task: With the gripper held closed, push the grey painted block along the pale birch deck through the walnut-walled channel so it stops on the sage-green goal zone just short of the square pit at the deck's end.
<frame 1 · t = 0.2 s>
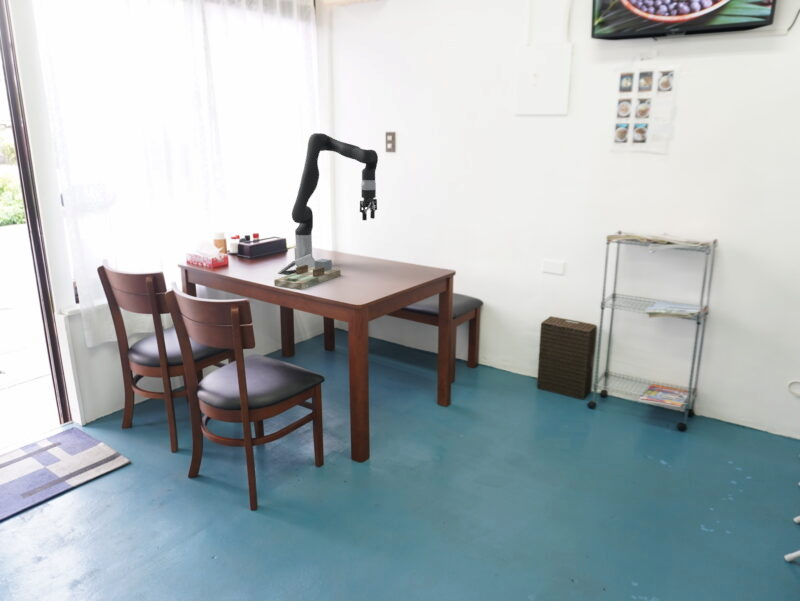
hand: (368, 219, 305), 29 cm above the table, fingers open, 8 cm apart
grey block: (323, 269, 303), point 3 cm above the table, touching tunnel deck
tunnel deck: (308, 280, 292), on the table
bracket: (299, 272, 313), on the table
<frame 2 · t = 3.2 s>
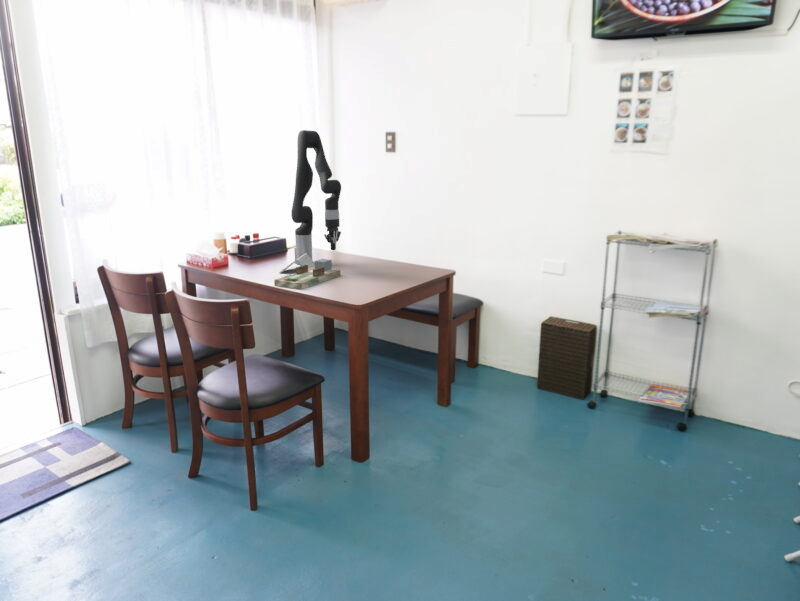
hand: (333, 249, 308), 12 cm above the table, fingers closed
bracket: (298, 270, 316), on the table
everything else where it was.
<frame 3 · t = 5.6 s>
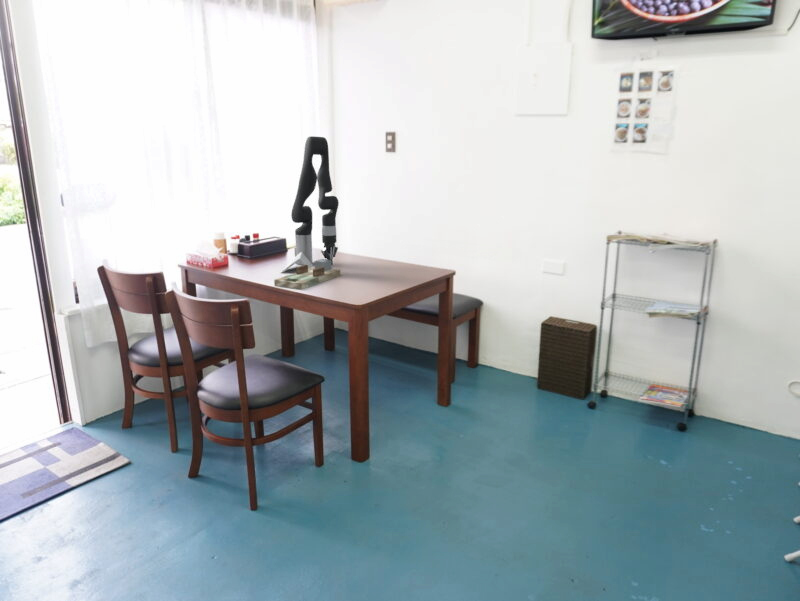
hand: (330, 265, 307), 4 cm above the table, fingers closed
grey block: (323, 269, 303), point 3 cm above the table, touching gripper, tunnel deck
bracket: (297, 270, 318), on the table
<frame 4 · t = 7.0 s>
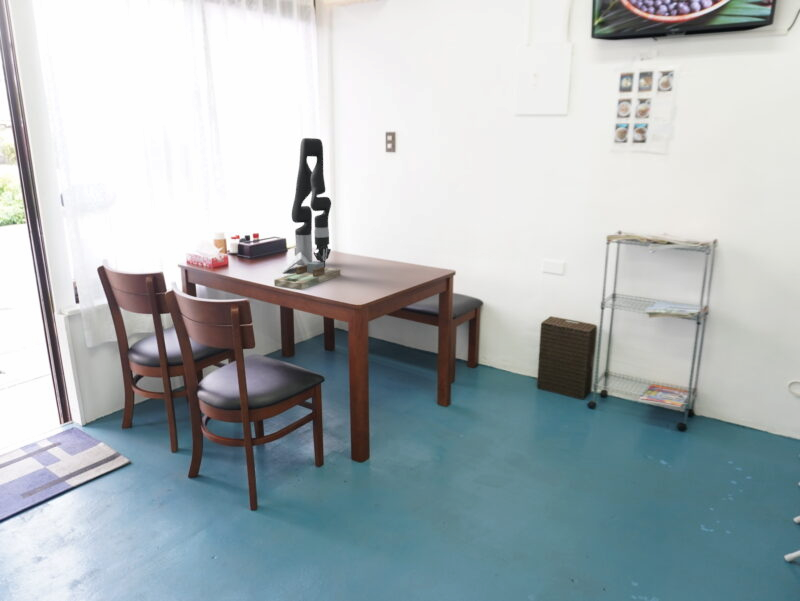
hand: (322, 267, 302), 4 cm above the table, fingers closed
grey block: (315, 272, 297), point 3 cm above the table, touching gripper
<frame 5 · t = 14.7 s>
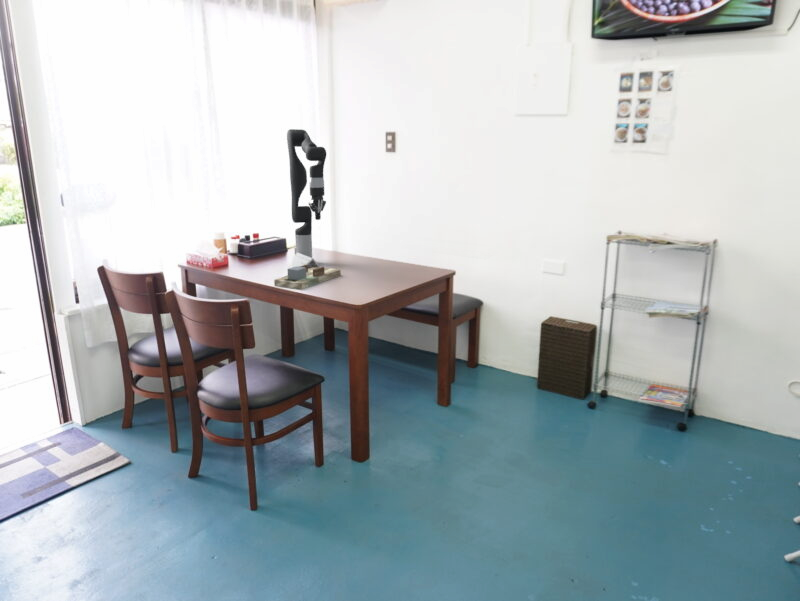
hand: (317, 219, 301), 29 cm above the table, fingers closed
grey block: (297, 278, 284), point 3 cm above the table, touching tunnel deck
bracket: (302, 270, 317), on the table, touching arm
at the end: grey block inside the target area on the tunnel deck (0.8 cm from its centre), point 3.0 cm above the tunnel deck's base; grey block tilted 0° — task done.
